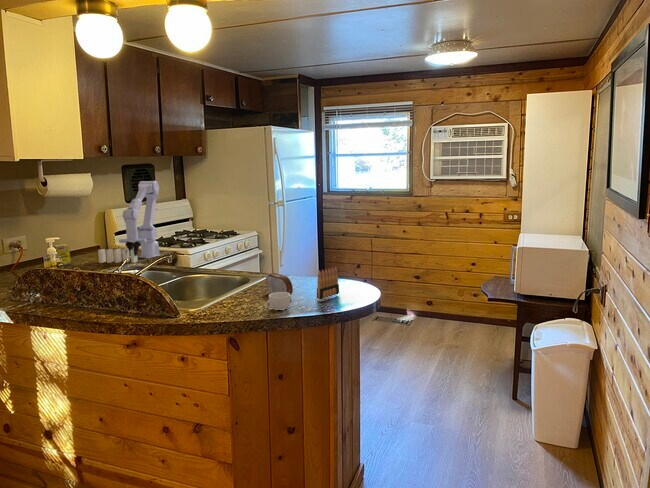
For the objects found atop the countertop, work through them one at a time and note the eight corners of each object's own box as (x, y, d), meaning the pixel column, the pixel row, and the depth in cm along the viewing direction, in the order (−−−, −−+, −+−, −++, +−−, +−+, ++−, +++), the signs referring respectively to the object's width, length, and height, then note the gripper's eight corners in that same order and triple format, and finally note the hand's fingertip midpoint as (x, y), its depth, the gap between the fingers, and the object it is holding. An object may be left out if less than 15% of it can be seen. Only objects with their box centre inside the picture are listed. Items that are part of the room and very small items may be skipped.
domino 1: (99, 262, 269) (98, 250, 268) (103, 261, 273) (102, 248, 272) (102, 262, 269) (100, 250, 268) (106, 261, 273) (105, 248, 272)
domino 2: (107, 262, 268) (106, 250, 267) (111, 261, 273) (110, 248, 272) (110, 262, 268) (108, 250, 267) (114, 261, 273) (112, 248, 272)
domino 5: (131, 262, 268) (130, 250, 267) (134, 261, 272) (133, 248, 271) (134, 262, 268) (133, 250, 267) (137, 261, 272) (136, 248, 271)
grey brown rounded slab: (293, 298, 190) (293, 277, 188) (287, 299, 187) (286, 278, 186) (271, 291, 201) (270, 271, 199) (264, 292, 199) (264, 272, 197)
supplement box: (59, 266, 260) (57, 246, 259) (54, 265, 264) (52, 245, 262) (71, 264, 265) (69, 244, 263) (65, 263, 269) (63, 244, 267)
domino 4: (123, 262, 268) (122, 250, 267) (127, 261, 273) (126, 248, 271) (126, 262, 268) (125, 250, 267) (129, 261, 273) (128, 248, 271)
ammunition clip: (320, 302, 183) (319, 270, 181) (316, 301, 184) (315, 270, 182) (339, 296, 191) (339, 266, 189) (335, 295, 192) (335, 265, 190)
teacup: (281, 305, 181) (280, 290, 180) (295, 309, 175) (295, 294, 174) (259, 311, 173) (259, 296, 173) (274, 315, 168) (273, 300, 167)
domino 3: (115, 262, 268) (114, 250, 267) (119, 261, 273) (118, 248, 272) (118, 262, 268) (116, 250, 267) (121, 261, 273) (120, 248, 272)
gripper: (115, 232, 264) (117, 257, 266) (141, 231, 263) (143, 256, 265) (121, 230, 271) (123, 254, 273) (147, 230, 270) (149, 254, 272)
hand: (134, 255), depth 269 cm, fingers closed on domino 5, 2 cm apart
